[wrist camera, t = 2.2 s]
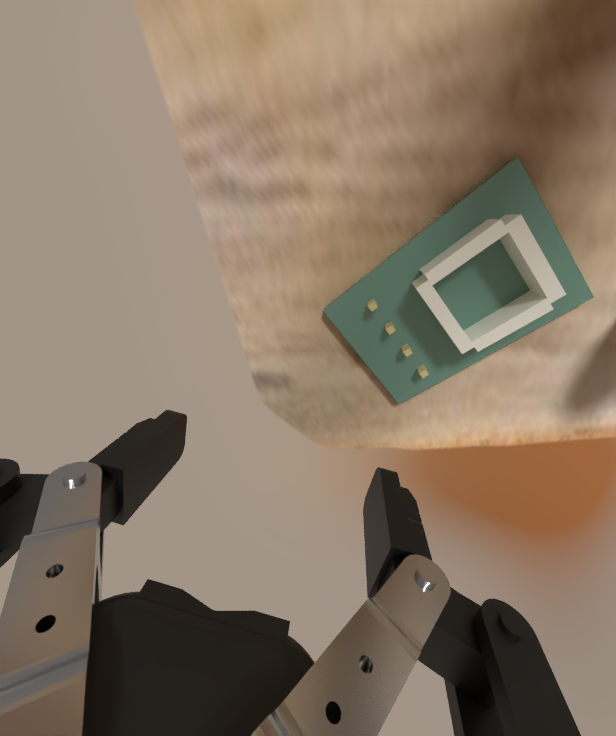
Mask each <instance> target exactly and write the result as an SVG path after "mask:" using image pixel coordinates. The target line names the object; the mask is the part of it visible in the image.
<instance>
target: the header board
mask: <svg viewBox="0 0 616 736" xmlns="http://www.w3.org/2000/svg"><path fill="white" fill-rule="evenodd" d="M593 297H594V296H593V295H592V293H591V291H590V289H589V287H588V285H587V283H586V282H585V280H584V278H583V276H582V274H581V272H580V270H579V269H578V267H577V265H576V263H575V261H574V259H573V258H572V256H571V254H570V252H569V250H568V248H567V246H566V245H565V243H564V241H563V239H562V237H561V235H560V233H559V232H558V230H557V228H556V226H555V224H554V222H553V220H552V219H551V217H550V215H549V213H548V211H547V209H546V207H545V206H544V204H543V202H542V200H541V198H540V196H539V194H538V193H537V191H536V189H535V187H534V185H533V183H532V181H531V180H530V178H529V176H528V174H527V172H526V170H525V168H524V167H523V165H522V163H521V161H520V159H519V157H517V158H515V159H512V160H511V161H510V162H509V163H507V164H506V165H505V166H504V167H502V168H501V169H500V170H499V171H497V172H496V173H495V174H493V175H492V176H491V177H490V178H488V179H487V180H486V181H485V182H483V183H482V184H481V185H480V186H478V187H477V188H476V189H475V190H473V191H472V192H471V193H469V194H468V195H467V196H466V197H464V198H463V199H462V200H461V201H459V202H458V203H457V204H456V205H454V206H453V207H452V208H450V209H449V210H448V211H447V212H445V213H444V214H443V215H442V216H440V217H439V218H438V219H437V220H435V221H434V222H433V223H432V224H430V225H429V226H428V227H426V228H425V229H424V230H423V231H421V232H420V233H419V234H418V235H416V236H415V237H414V238H413V239H411V240H410V241H409V242H407V243H406V244H405V245H404V246H402V247H401V248H400V249H399V250H397V251H396V252H395V253H394V254H392V255H391V256H390V257H388V258H387V259H386V260H385V261H383V262H382V263H381V264H380V265H378V266H377V267H376V268H375V269H373V270H372V271H371V272H370V273H368V274H367V275H366V276H364V277H363V278H362V279H361V280H359V281H358V282H357V283H356V284H354V285H353V286H352V287H351V288H349V289H348V290H347V291H345V292H344V293H343V294H342V295H340V296H339V297H338V298H337V299H335V300H334V301H333V302H332V303H330V304H329V305H328V306H326V307H325V308H324V310H323V312H324V313H325V314H326V315H327V317H328V318H329V319H330V320H331V322H332V323H333V324H334V325H335V326H336V328H337V329H338V330H339V331H340V333H341V334H342V335H343V336H344V338H345V339H346V340H347V341H348V342H349V344H350V345H351V346H352V347H353V349H354V350H355V351H356V352H357V354H358V355H359V356H360V357H361V358H362V360H363V361H364V362H365V363H366V365H367V366H368V367H369V368H370V369H371V371H372V372H373V373H374V374H375V376H376V377H377V378H378V379H379V381H380V382H381V383H382V384H383V385H384V387H385V388H386V389H387V390H388V392H389V393H390V394H391V395H392V397H393V398H394V399H395V400H396V401H397V403H398V404H401V403H402V402H404V401H406V400H408V399H410V398H412V397H413V396H415V395H417V394H419V393H421V392H422V391H424V390H426V389H428V388H430V387H432V386H433V385H435V384H437V383H439V382H441V381H442V380H444V379H446V378H448V377H450V376H452V375H453V374H455V373H457V372H459V371H461V370H462V369H464V368H466V367H468V366H470V365H471V364H473V363H475V362H477V361H479V360H481V359H482V358H484V357H486V356H488V355H490V354H491V353H493V352H495V351H497V350H499V349H501V348H502V347H504V346H506V345H508V344H510V343H511V342H513V341H515V340H517V339H519V338H521V337H522V336H524V335H526V334H528V333H530V332H531V331H533V330H535V329H537V328H539V327H540V326H542V325H544V324H546V323H548V322H550V321H551V320H553V319H555V318H557V317H559V316H560V315H562V314H564V313H566V312H568V311H570V310H571V309H573V308H575V307H577V306H579V305H580V304H582V303H584V302H586V301H588V300H590V299H591V298H593Z"/></svg>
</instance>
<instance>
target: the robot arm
mask: <svg viewBox="0 0 616 736" xmlns="http://www.w3.org/2000/svg"><path fill="white" fill-rule="evenodd" d="M186 424H187V416H186V415H185V414H181V413H178V412H174V411H170V410H166V411H164V412H163V413H162V414H161V415H160V416H158V417H157V418H156V419H152V418H149V419H147V420H145V421H142V422H140V423H137V424H136V425H134V426H133V427H132V428H131V429H129V430H128V431H127V433H124V434H123V435H122V436H120V437H119V439H116V440H115V441H114V442H113V443H111V444H110V445H109V446H108V447H106V448H105V449H104V450H102V451H101V452H100V453H99V454H97V455H96V456H95V457H93V458H92V459H91V460H90V461H88V462H75V463H71V464H67V465H65V466H62V467H60V468H58V469H56V470H55V471H53V472H52V473H51V474H20V468H19V465H18V463H17V462H15V461H13V460H10V459H0V567H1V566H3V565H4V564H5V563H6V562H7V561H8V560H9V559H10V558H11V557H12V556H13V555H14V554H15V553H16V552H17V551H18V550H19V553H18V557H17V560H16V564H15V567H14V570H13V574H12V577H11V582H10V585H9V588H8V592H7V595H6V599H5V602H4V606H3V609H2V613H1V616H0V736H377V735H378V733H379V731H380V729H381V727H382V726H383V724H384V722H385V720H386V718H387V716H388V714H389V712H390V710H391V708H392V707H393V705H394V703H395V701H396V699H397V697H398V695H399V694H400V692H401V690H402V688H403V686H404V684H405V682H406V680H407V678H408V676H409V675H410V673H411V671H412V669H413V667H414V665H415V663H416V661H417V660H419V661H420V662H421V663H423V664H424V665H426V666H427V667H429V668H430V669H431V670H433V671H434V672H436V673H437V674H438V675H440V676H441V677H443V678H444V680H445V686H446V691H447V697H448V702H449V708H450V713H451V718H452V724H453V730H454V735H455V736H581V735H580V732H579V730H578V728H577V726H576V723H575V721H574V719H573V717H572V714H571V712H570V710H569V708H568V706H567V704H566V701H565V699H564V697H563V695H562V692H561V690H560V688H559V686H558V683H557V681H556V679H555V676H554V674H553V672H552V670H551V667H550V666H549V663H548V661H547V659H546V656H545V654H544V652H543V650H542V647H541V645H540V643H539V641H538V638H537V636H536V634H535V632H534V631H533V629H532V627H531V626H530V625H529V623H528V622H527V621H526V620H525V618H524V617H523V616H522V615H521V614H520V613H519V612H518V611H516V610H515V609H514V608H513V607H511V606H510V605H508V604H506V603H505V602H503V601H500V600H497V599H488V600H486V601H485V602H484V603H483V604H482V606H480V605H478V604H476V603H475V602H473V601H472V600H470V599H468V598H466V597H465V596H463V595H461V594H460V593H458V592H457V591H455V590H454V589H453V588H451V587H450V584H449V581H448V579H447V577H446V575H445V574H444V572H443V571H442V570H441V569H440V567H439V566H438V565H436V564H435V563H434V562H433V561H432V558H431V554H430V550H429V547H428V543H427V539H426V536H425V532H424V528H423V525H422V524H421V522H422V521H421V518H420V514H419V510H418V506H417V503H416V500H415V499H414V497H413V495H412V494H411V493H410V491H409V490H408V489H406V488H403V487H400V482H399V478H398V474H397V472H394V471H390V470H387V469H383V468H377V469H376V471H375V474H374V476H373V479H372V482H371V485H370V487H369V489H368V492H367V495H366V497H365V502H364V508H363V515H364V534H365V535H364V536H365V555H366V574H367V592H368V593H367V594H368V597H369V599H367V600H366V601H365V603H364V604H363V605H362V606H361V607H360V609H359V610H358V611H357V612H356V614H355V615H354V616H353V617H352V618H351V620H350V621H349V622H348V623H347V624H346V626H345V627H344V628H343V629H342V630H341V632H340V633H339V634H338V635H337V636H336V638H335V639H334V640H333V641H332V643H331V644H330V645H329V646H328V647H327V649H326V650H325V651H324V652H323V654H322V655H321V656H320V657H319V658H318V660H317V661H316V662H315V663H314V661H313V660H312V658H311V657H310V655H309V654H308V653H307V652H306V651H305V649H304V648H303V647H302V646H301V645H300V644H299V643H298V642H296V641H295V640H294V639H293V638H291V637H290V636H288V630H289V623H290V621H287V620H284V619H280V618H277V617H274V616H270V615H267V614H263V613H260V612H257V611H214V610H212V609H210V608H209V607H207V606H206V605H204V604H203V603H202V602H200V601H199V600H197V599H195V598H194V597H193V596H191V595H190V594H188V593H187V592H185V591H184V590H183V589H179V588H176V587H173V586H169V585H166V584H162V583H159V582H156V581H152V580H149V579H148V580H147V581H146V583H145V585H144V586H143V588H142V590H141V591H140V592H130V593H124V594H120V595H116V596H113V597H110V598H107V599H104V600H102V573H103V549H104V529H105V528H106V527H107V526H108V525H109V524H110V522H115V523H118V524H121V525H124V524H125V523H126V522H127V521H128V519H129V518H130V517H131V516H132V515H133V513H134V512H135V511H136V510H137V509H138V507H139V506H140V505H141V504H142V503H143V502H144V500H145V499H146V498H147V497H148V496H149V494H150V493H151V492H152V491H153V490H154V489H155V487H156V486H157V485H158V484H159V483H160V482H161V480H162V479H163V478H164V477H165V476H166V474H167V473H168V472H169V471H170V470H171V468H172V467H173V466H174V465H175V464H176V462H177V461H178V460H179V459H180V457H181V455H182V453H183V450H184V446H185V436H186ZM371 598H372V599H371Z"/></svg>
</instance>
